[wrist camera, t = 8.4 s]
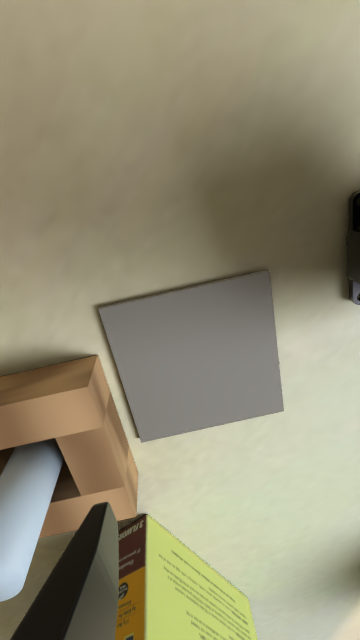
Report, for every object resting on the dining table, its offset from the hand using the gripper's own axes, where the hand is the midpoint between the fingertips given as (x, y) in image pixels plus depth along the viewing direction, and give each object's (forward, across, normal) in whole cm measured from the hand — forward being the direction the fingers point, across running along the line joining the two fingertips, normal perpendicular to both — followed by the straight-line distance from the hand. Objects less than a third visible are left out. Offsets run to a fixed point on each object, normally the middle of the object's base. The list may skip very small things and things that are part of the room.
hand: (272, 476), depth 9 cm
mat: (+12, +1, +3) cm, 12 cm away
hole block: (+12, +12, +6) cm, 18 cm away
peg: (+12, +12, +6) cm, 18 cm away
